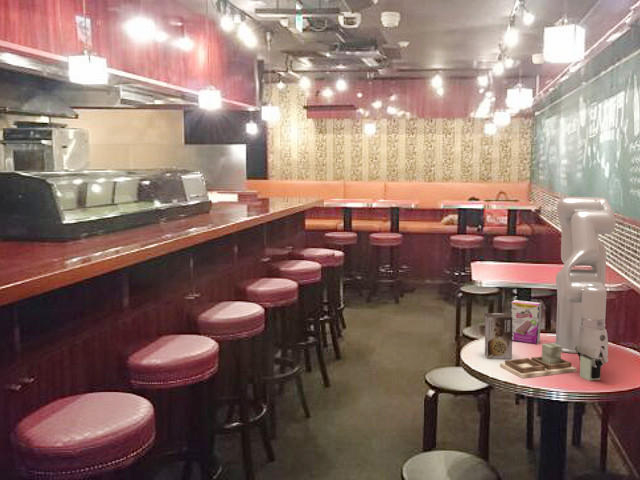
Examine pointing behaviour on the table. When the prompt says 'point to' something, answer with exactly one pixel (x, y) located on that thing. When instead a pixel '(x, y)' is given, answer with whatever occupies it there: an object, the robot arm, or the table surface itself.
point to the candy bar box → (526, 321)
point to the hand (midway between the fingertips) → (590, 375)
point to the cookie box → (498, 335)
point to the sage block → (586, 368)
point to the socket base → (540, 363)
